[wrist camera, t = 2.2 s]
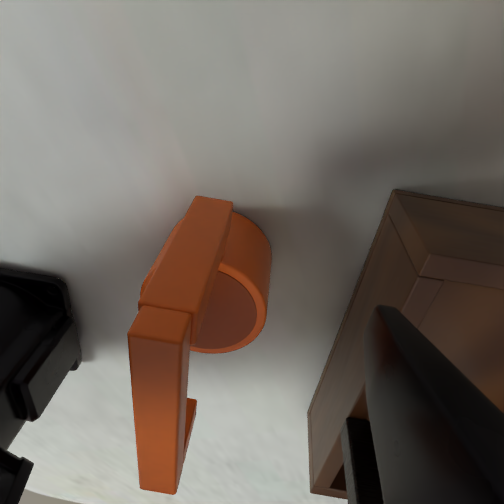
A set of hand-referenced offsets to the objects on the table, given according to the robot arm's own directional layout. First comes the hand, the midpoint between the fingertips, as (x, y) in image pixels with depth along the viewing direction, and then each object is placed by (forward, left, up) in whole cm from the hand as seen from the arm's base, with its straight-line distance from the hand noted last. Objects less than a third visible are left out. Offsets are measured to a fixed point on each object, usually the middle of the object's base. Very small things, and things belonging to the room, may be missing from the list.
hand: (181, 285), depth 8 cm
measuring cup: (0, -4, -7) cm, 8 cm away
